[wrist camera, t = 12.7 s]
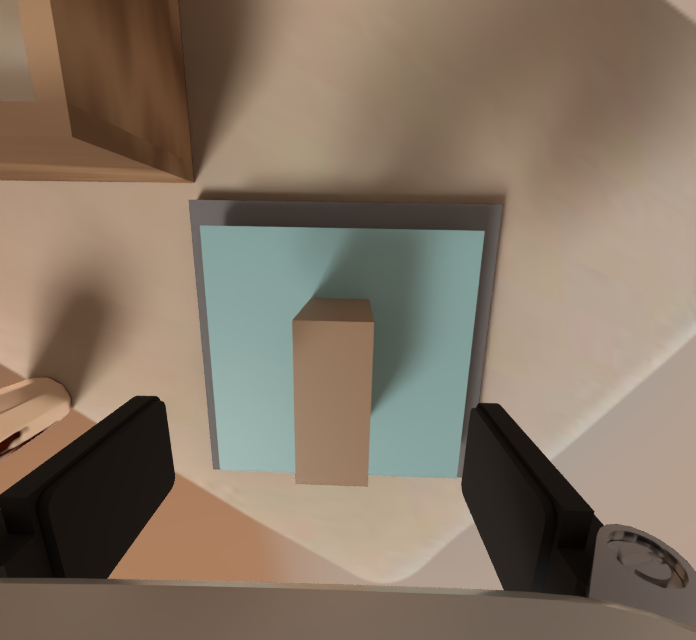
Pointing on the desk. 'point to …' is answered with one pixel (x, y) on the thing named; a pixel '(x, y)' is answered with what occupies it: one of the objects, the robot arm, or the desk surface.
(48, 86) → the storage box
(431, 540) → the desk surface
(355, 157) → the desk surface
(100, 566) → the robot arm
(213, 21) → the desk surface
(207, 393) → the desk mat
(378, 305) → the lid
